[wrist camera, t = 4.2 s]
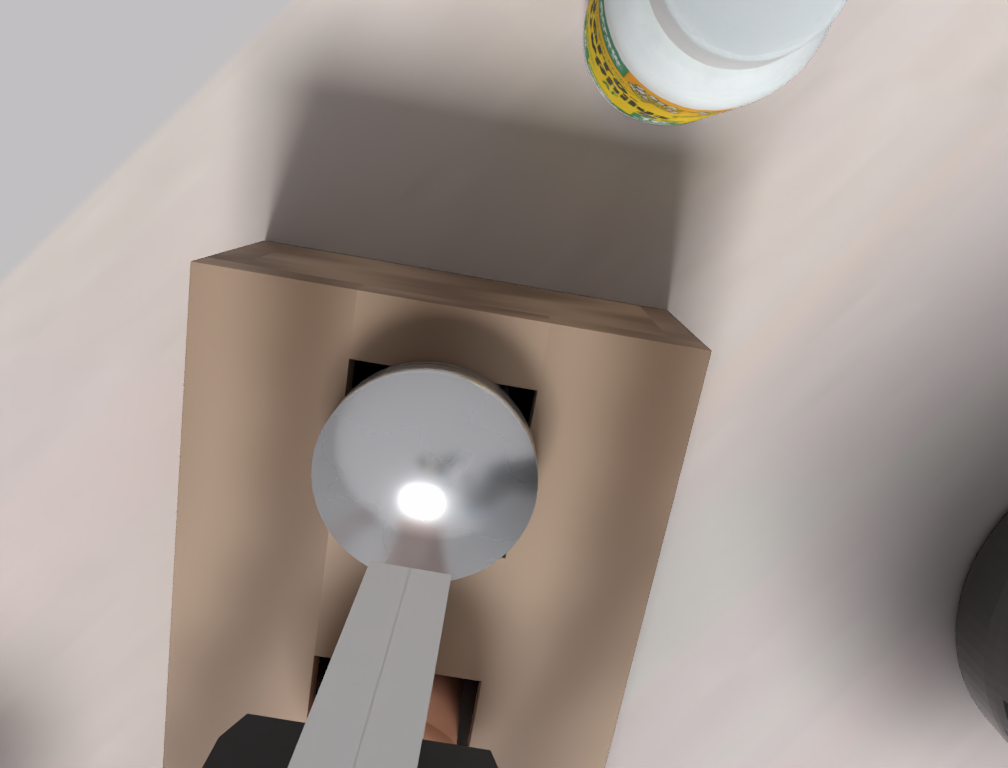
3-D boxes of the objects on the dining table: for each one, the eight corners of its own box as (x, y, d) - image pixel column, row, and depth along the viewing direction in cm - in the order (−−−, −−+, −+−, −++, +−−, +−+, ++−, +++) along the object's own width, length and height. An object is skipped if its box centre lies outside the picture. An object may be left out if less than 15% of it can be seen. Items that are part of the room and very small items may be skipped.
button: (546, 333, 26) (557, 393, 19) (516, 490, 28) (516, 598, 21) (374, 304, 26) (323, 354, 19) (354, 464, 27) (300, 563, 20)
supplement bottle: (784, 51, 24) (959, -26, 14) (646, 162, 25) (726, 157, 15) (685, -100, 22) (805, -289, 13) (545, 23, 23) (565, -72, 14)
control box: (667, 310, 26) (711, 350, 20) (524, 918, 33) (526, 1073, 28) (264, 240, 25) (191, 261, 20) (213, 873, 33) (148, 1022, 27)
